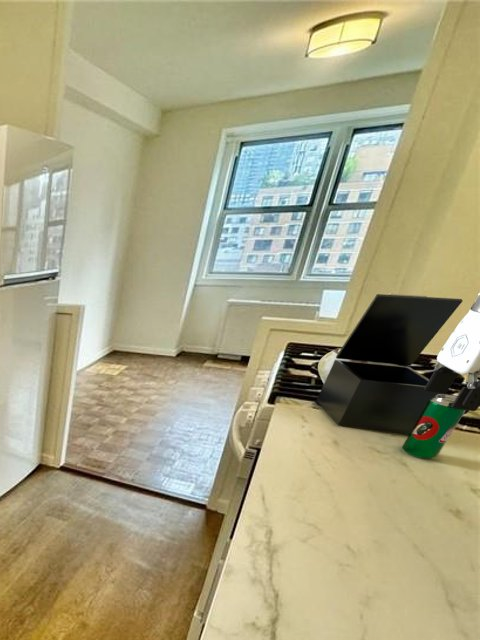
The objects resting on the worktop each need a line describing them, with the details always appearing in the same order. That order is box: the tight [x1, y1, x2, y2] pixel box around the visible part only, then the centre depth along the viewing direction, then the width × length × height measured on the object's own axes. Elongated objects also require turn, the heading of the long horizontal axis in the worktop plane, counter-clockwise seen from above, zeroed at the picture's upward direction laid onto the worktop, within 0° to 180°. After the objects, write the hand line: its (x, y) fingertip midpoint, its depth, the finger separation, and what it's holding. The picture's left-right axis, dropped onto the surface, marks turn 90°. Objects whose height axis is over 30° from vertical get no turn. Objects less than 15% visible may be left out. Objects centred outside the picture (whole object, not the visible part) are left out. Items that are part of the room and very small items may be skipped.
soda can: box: [401, 393, 467, 460], centre depth 94 cm, size 5×5×12 cm
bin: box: [315, 360, 444, 436], centre depth 109 cm, size 16×14×11 cm
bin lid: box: [336, 293, 464, 367], centre depth 108 cm, size 16×14×5 cm
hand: (448, 400), depth 91 cm, fingers open, 9 cm apart
